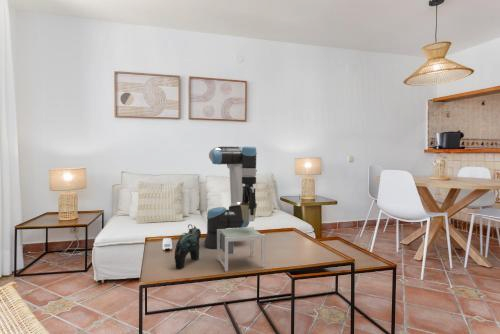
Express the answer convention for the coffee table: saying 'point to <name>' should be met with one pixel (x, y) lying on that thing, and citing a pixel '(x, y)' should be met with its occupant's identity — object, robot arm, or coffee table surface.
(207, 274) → the coffee table surface
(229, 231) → the grey l-shaped slab
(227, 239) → the frame
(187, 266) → the coffee table surface
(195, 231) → the dark green animal figurine
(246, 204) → the flower pot
